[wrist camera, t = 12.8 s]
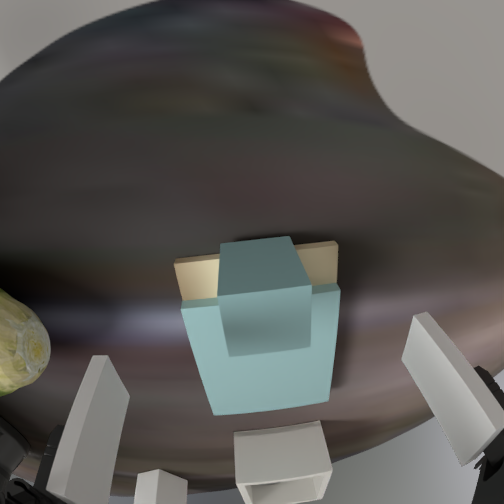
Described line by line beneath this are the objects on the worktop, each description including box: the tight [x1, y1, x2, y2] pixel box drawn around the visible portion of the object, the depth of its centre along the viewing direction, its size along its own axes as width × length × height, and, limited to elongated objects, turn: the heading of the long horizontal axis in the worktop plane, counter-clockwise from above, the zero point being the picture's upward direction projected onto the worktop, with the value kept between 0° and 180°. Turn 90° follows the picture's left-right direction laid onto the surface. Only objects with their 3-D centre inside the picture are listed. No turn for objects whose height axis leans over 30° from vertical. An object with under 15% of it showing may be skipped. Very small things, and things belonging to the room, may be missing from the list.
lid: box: [181, 236, 341, 415], centre depth 20 cm, size 11×17×6 cm, turn 5°
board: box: [174, 241, 338, 301], centre depth 23 cm, size 11×15×1 cm
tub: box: [234, 421, 333, 504], centre depth 29 cm, size 10×12×7 cm
